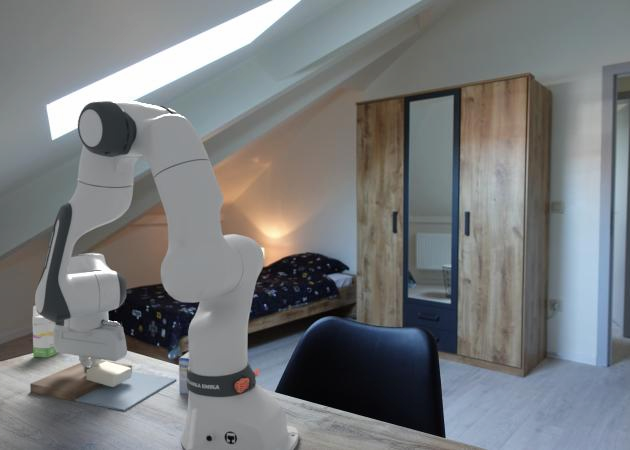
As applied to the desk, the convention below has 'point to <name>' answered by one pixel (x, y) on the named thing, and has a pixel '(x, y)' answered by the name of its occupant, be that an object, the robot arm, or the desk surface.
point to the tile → (109, 374)
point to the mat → (126, 391)
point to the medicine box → (183, 373)
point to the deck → (67, 383)
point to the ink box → (42, 336)
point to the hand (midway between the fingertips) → (90, 373)
